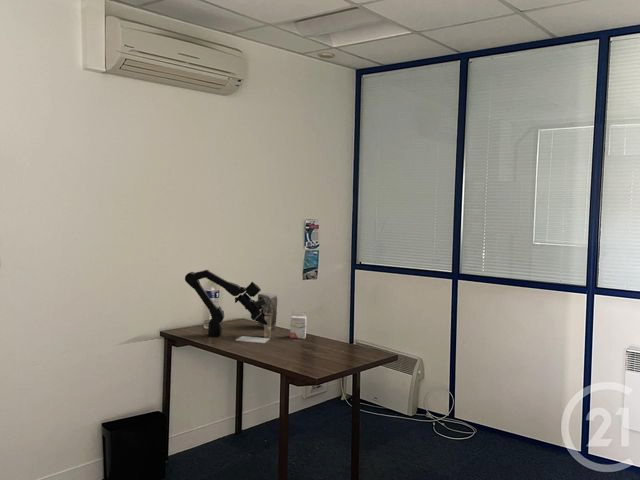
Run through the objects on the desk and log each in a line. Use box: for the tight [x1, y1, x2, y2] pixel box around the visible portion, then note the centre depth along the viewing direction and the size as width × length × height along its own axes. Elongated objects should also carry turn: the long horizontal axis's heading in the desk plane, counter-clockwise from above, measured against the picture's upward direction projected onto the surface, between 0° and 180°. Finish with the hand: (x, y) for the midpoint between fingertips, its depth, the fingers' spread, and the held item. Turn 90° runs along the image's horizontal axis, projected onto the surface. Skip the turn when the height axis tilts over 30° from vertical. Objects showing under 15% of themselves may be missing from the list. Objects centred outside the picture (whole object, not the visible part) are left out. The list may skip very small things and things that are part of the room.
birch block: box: [263, 313, 272, 339], centre depth 342 cm, size 4×5×13 cm
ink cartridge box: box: [289, 309, 307, 340], centre depth 344 cm, size 9×5×15 cm, turn 84°
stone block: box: [257, 292, 278, 330], centre depth 367 cm, size 13×7×20 cm, turn 44°
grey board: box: [235, 335, 271, 344], centre depth 334 cm, size 16×10×1 cm, turn 77°
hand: (267, 322), depth 342 cm, fingers open, 9 cm apart
